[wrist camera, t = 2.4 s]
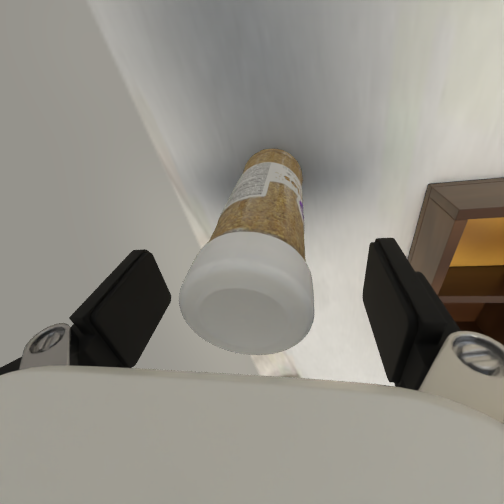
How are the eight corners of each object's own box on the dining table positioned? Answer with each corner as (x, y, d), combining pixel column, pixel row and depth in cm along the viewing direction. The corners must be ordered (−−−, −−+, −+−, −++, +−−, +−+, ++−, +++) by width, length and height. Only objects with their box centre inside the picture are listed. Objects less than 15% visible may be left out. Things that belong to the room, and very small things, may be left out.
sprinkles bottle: (310, 192, 19) (333, 351, 8) (257, 213, 21) (219, 367, 10) (289, 134, 17) (282, 246, 6) (231, 162, 18) (145, 289, 8)
